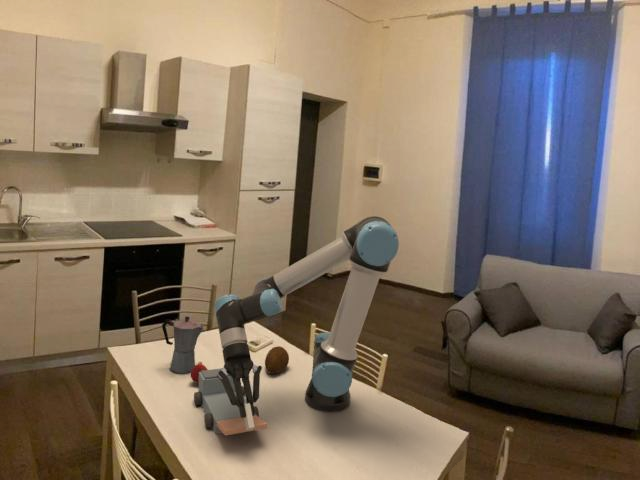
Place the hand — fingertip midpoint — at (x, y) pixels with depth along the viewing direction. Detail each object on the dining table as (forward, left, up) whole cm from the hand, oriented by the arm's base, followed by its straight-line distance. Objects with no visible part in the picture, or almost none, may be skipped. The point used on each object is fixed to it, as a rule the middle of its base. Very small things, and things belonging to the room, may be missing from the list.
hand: (250, 428), depth 143 cm
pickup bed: (+16, -19, -8) cm, 25 cm away
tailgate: (+9, -10, -4) cm, 14 cm away
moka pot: (+43, -40, -8) cm, 59 cm away
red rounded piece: (+32, -32, -8) cm, 46 cm away
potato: (+12, -53, -8) cm, 55 cm away
